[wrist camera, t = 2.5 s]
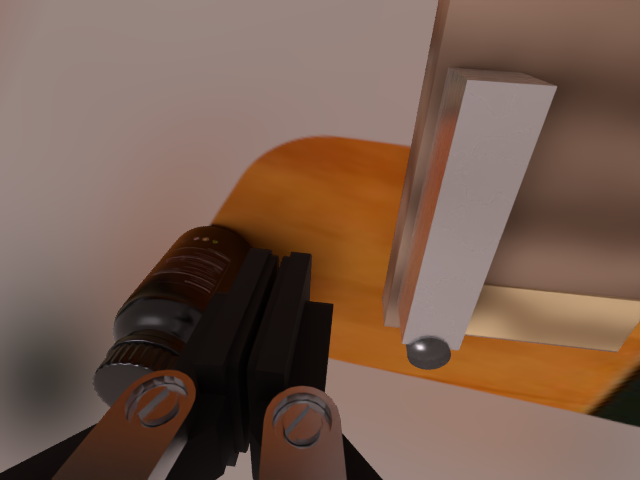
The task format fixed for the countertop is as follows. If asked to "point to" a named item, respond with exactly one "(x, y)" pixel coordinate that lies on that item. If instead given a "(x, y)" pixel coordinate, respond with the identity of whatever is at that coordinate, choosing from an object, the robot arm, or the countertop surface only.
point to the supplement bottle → (168, 307)
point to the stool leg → (466, 203)
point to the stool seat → (549, 169)
